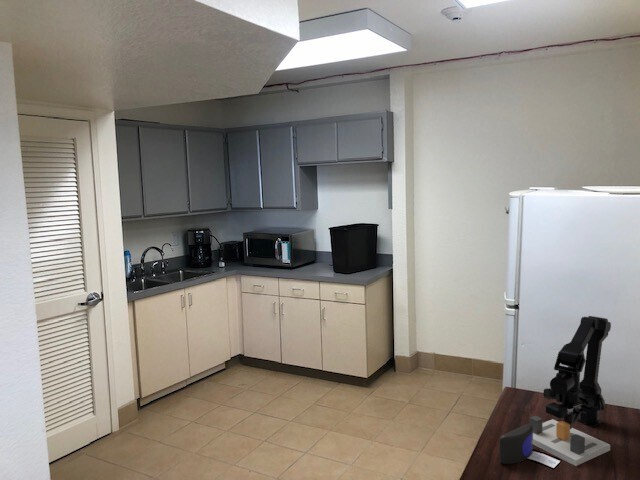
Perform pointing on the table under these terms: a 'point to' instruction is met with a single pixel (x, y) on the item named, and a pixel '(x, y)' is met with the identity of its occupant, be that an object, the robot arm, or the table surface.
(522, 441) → the leaning round-cornered charcoal block
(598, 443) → the breaker panel
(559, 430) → the block
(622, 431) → the table surface
